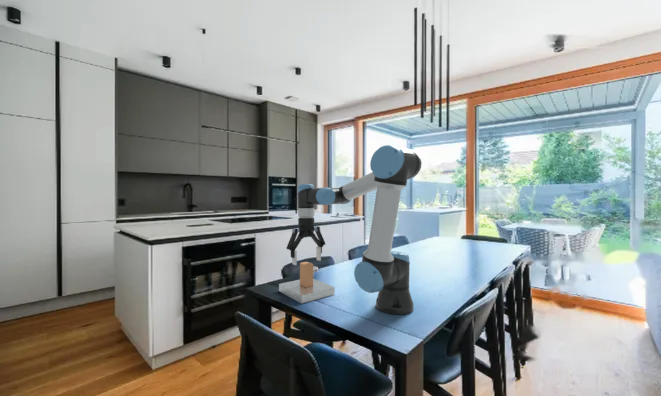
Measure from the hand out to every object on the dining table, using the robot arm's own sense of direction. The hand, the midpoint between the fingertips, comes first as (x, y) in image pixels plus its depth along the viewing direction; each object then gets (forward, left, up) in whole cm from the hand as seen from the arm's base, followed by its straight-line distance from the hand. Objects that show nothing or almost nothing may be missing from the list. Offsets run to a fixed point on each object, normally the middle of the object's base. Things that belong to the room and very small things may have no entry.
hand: (307, 262), depth 140 cm
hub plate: (0, 0, -14) cm, 14 cm away
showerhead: (+17, -13, -15) cm, 26 cm away
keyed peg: (0, 0, -15) cm, 14 cm away
